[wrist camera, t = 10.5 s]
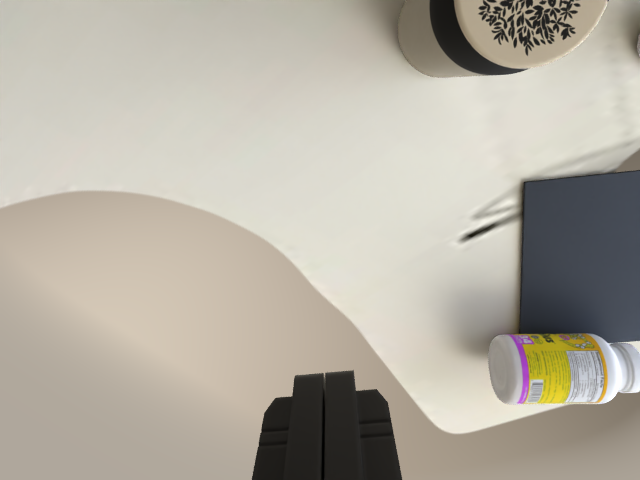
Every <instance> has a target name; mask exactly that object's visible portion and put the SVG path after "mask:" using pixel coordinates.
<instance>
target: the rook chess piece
mask: <svg viewBox="0 0 640 480" xmlns="http://www.w3.org/2000/svg"><path fill="white" fill-rule="evenodd" d="M637 49H638V53H639V57H640V34H639V36H638V43H637Z"/></svg>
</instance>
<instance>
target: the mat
mask: <svg viewBox="0 0 640 480" xmlns="http://www.w3.org/2000/svg"><path fill="white" fill-rule="evenodd" d="M519 334H594V335H597V336H599V337H601V338H602V339H604V340H605V341H606V342H607V343H618V342H630V341H640V170H637V171H627V172H618V173H607V174H597V175H588V176H578V177H568V178H559V179H549V180H539V181H530V182H524V200H523V232H522V264H521V296H520V329H519Z"/></svg>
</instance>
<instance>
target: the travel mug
mask: <svg viewBox="0 0 640 480" xmlns="http://www.w3.org/2000/svg"><path fill="white" fill-rule="evenodd" d="M608 1H609V0H406V1H405V3H404V5H403V7H402V10H401V12H400V16H399V21H398V39H399V44H400V47H401V50H402V52H403V54H404V56H405V58H406V59H407V61H408V62H409V63H410V64H411V65H412V66H413V67H414V68H415V69H416V70H418V71H419V72H421V73H423V74H425V75H428V76H431V77H437V78H447V77H467V76H487V75H506V74H513V73H517V72H521V71H524V70H527V69H529V68H535V67H540V66H543V65H546V64H549V63H552V62H554V61H556V60H558V59H560V58H562V57H564V56H565V55H567V54H568V53H570V52H571V51H573V50H574V49H575V48H576V47H578V46H579V45H580V44H581V43H582V42H583V41H584V40H585V39H586V38H587V37H588V36H589V34H590V33H591V32H592V30H593V29H594V28H595V26H596V25H597V23H598V22H599V20H600V18H601V17H602V15H603V13H604V11H605V8H606V6H607V4H608Z"/></svg>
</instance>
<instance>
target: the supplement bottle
mask: <svg viewBox="0 0 640 480" xmlns="http://www.w3.org/2000/svg"><path fill="white" fill-rule="evenodd" d="M488 364H489V373H490V379H491V383H492V386H493V389H494V392H495V394H496V395H497V397H498V398H499V399H500V400H501V401H502V402H503V403H505V404H601V403H606V402H608V401H610V400H611V399H612V398H613V397H614V396H615V395H616V393H617V391H618V392H621V393H634V392H639V391H640V353H639V352H638V350H637V349H636V348H635V347H634V346H632V345H631V344H628V343H612V344H610V345H609V344H608V343H607V342H606V341H605V340H604V339H602V338H601V337H599V336H597V335H594V334H505V335H498V336H496V337H495V338H494V339H493V340H492V342H491V344H490V348H489V355H488Z"/></svg>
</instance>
